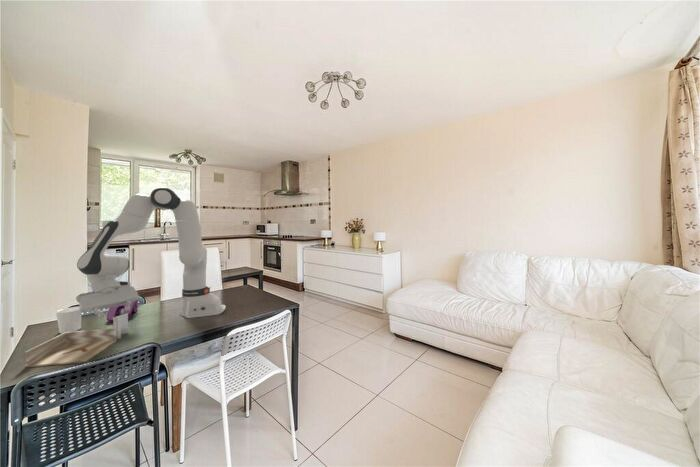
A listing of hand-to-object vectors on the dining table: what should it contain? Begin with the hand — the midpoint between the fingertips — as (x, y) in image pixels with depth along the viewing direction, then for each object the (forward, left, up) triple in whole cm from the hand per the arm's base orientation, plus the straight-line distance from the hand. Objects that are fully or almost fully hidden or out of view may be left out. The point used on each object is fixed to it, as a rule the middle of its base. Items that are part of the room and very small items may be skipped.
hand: (115, 313), depth 115 cm
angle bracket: (-6, +5, -9) cm, 12 cm away
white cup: (+22, -6, -9) cm, 25 cm away
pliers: (+24, -35, -10) cm, 43 cm away
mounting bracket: (+10, -21, -10) cm, 25 cm away
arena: (+3, +18, -9) cm, 20 cm away
